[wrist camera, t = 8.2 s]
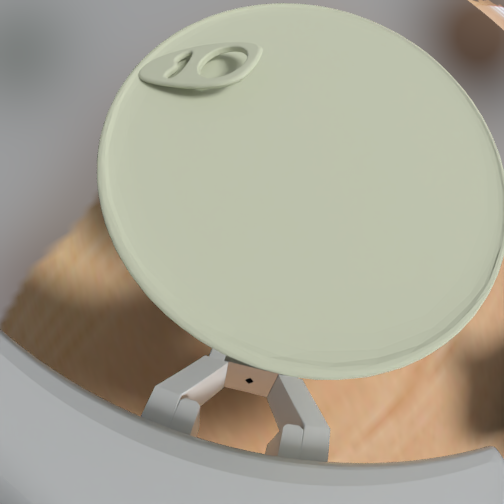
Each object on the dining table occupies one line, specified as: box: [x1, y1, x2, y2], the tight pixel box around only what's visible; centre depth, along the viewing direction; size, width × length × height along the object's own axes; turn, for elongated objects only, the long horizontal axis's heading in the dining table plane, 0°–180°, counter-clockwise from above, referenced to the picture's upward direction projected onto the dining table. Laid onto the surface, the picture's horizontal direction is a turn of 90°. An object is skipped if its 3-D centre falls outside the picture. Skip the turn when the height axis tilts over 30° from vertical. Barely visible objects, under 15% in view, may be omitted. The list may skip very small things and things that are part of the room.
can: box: [97, 3, 504, 380], centre depth 10 cm, size 9×9×12 cm
